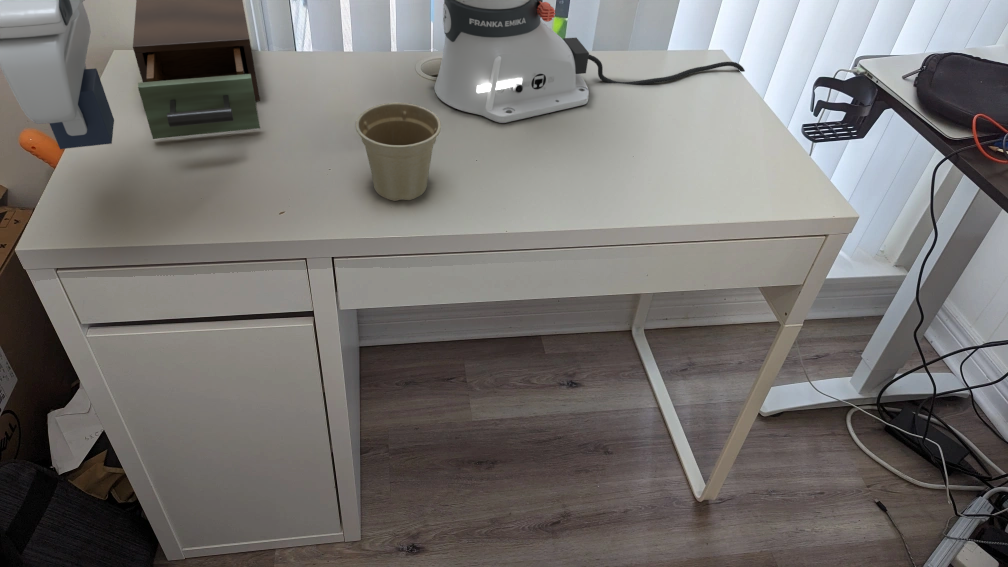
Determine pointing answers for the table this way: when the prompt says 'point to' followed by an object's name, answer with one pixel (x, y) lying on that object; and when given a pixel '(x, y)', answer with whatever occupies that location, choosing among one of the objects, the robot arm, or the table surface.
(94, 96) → the block
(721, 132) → the table surface
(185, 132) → the drawer
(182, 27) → the cabinet
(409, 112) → the flower pot
